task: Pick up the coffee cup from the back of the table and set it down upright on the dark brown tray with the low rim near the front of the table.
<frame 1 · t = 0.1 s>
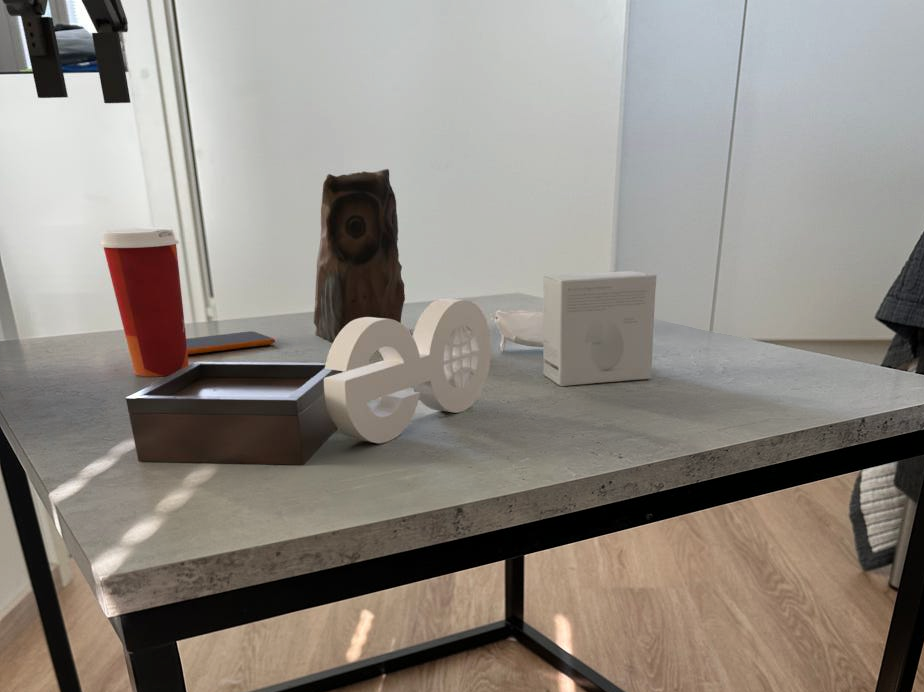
hand: (87, 101, 96), 27 cm above the table, tool pointing down, fingers open, 13 cm apart
smartphone: (204, 349, 118), on the table
cosmetics box: (595, 378, 100), on the table
dark brown tray: (249, 439, 81), on the table
pale pink animal figure: (539, 353, 113), on the table
coffee cup: (162, 372, 107), on the table
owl: (358, 338, 124), on the table
letter: (418, 425, 85), on the table
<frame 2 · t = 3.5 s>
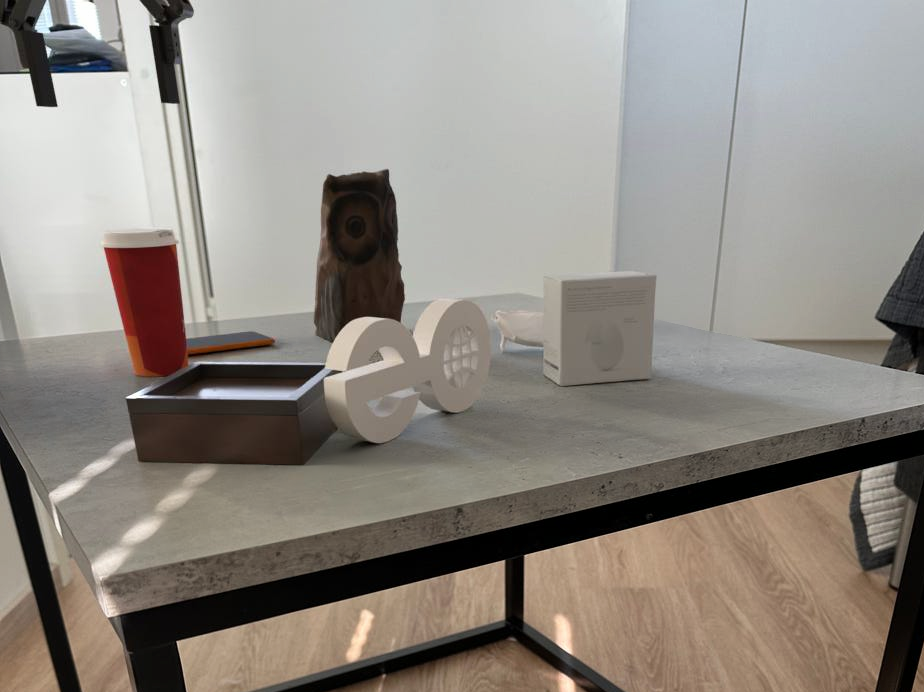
hand: (108, 105, 95), 27 cm above the table, tool pointing down, fingers open, 13 cm apart
nothing on the table moved.
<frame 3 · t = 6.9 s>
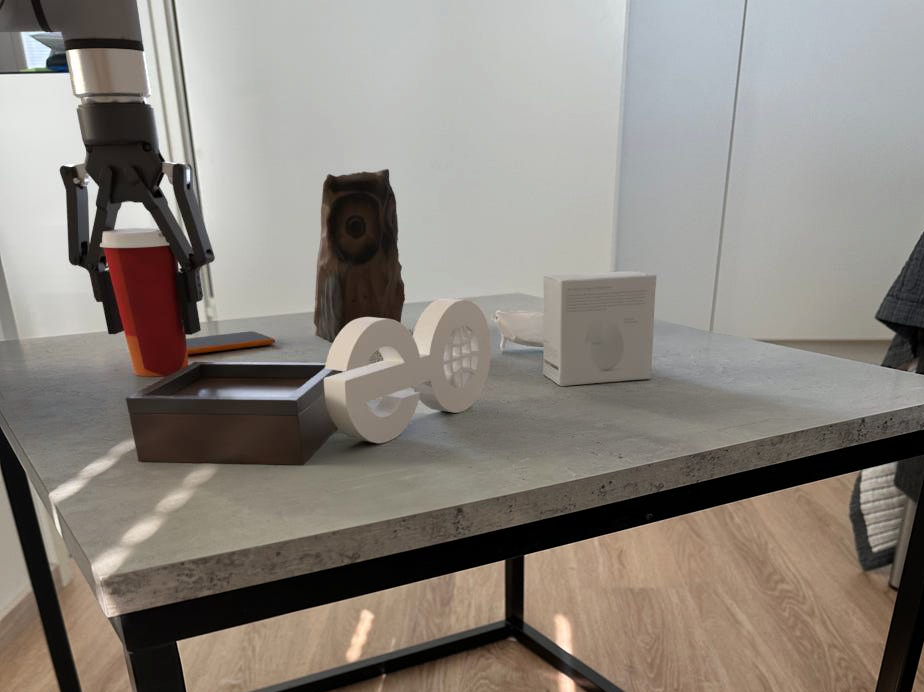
hand: (154, 332, 105), 4 cm above the table, tool pointing down, fingers closed on coffee cup, 8 cm apart
coffee cup: (162, 372, 107), on the table, touching gripper
everything else where it was.
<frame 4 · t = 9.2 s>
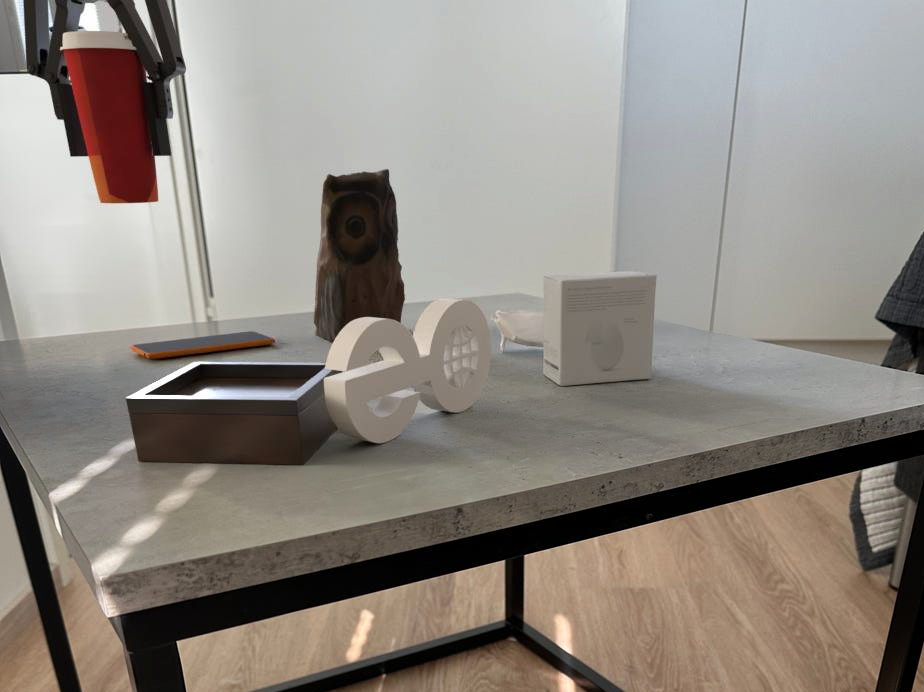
hand: (121, 155, 96), 22 cm above the table, tool pointing down, fingers closed on coffee cup, 8 cm apart
coffee cup: (129, 203, 98), point 18 cm above the table, touching gripper
everything else where it was.
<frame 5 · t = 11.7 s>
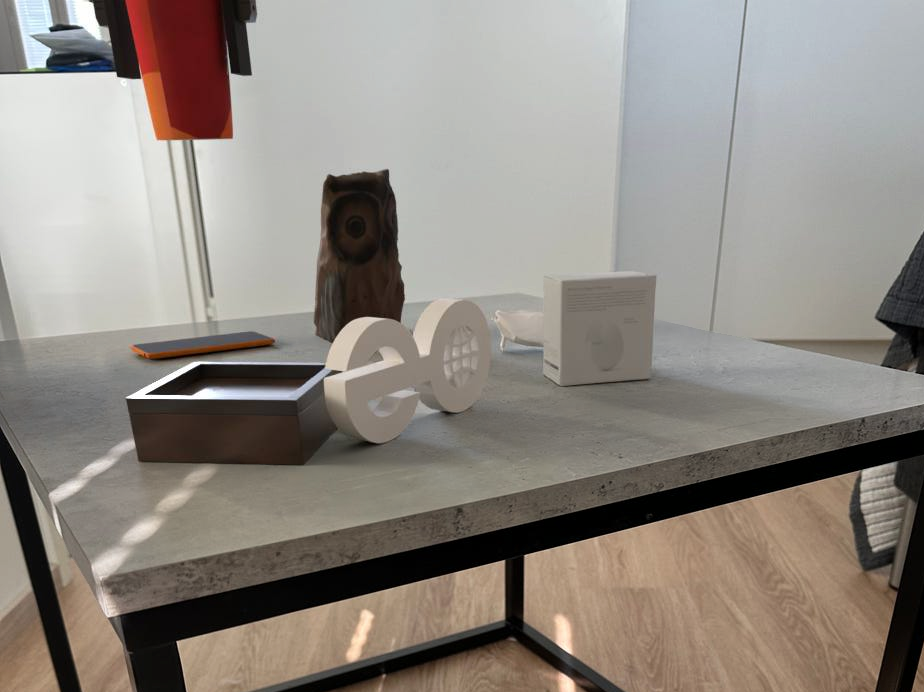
hand: (185, 76, 71), 28 cm above the table, tool pointing down, fingers closed on coffee cup, 8 cm apart
coffee cup: (194, 142, 74), point 23 cm above the table, touching gripper
everything else where it was.
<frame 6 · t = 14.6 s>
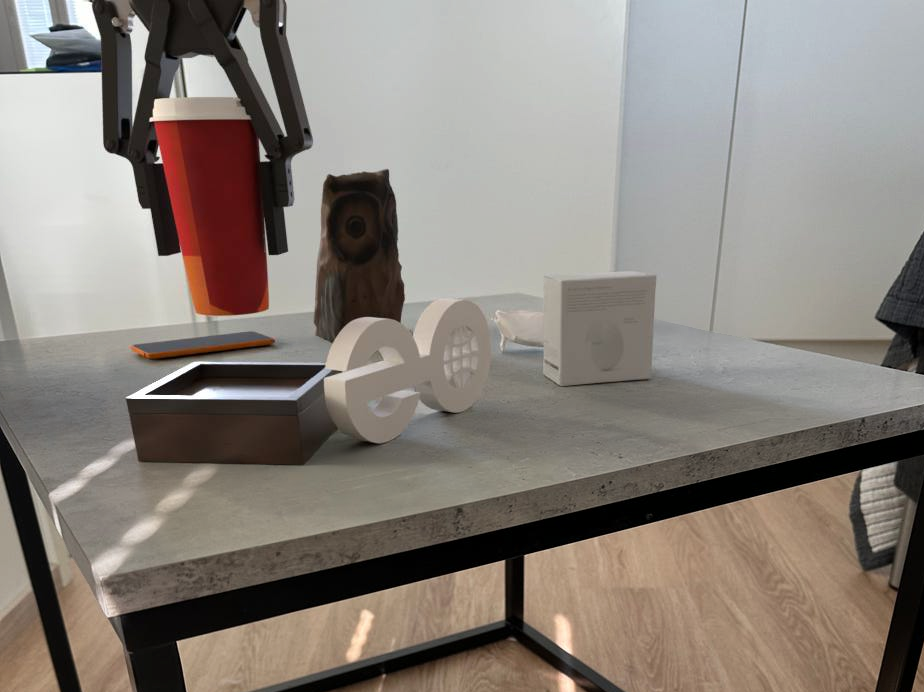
hand: (223, 253, 74), 15 cm above the table, tool pointing down, fingers closed on coffee cup, 8 cm apart
coffee cup: (232, 312, 76), point 11 cm above the table, touching gripper
everything else where it was.
when the fingers open (8 cm above the table, at t = 16.7 s): coffee cup stays where it is, resting on dark brown tray.
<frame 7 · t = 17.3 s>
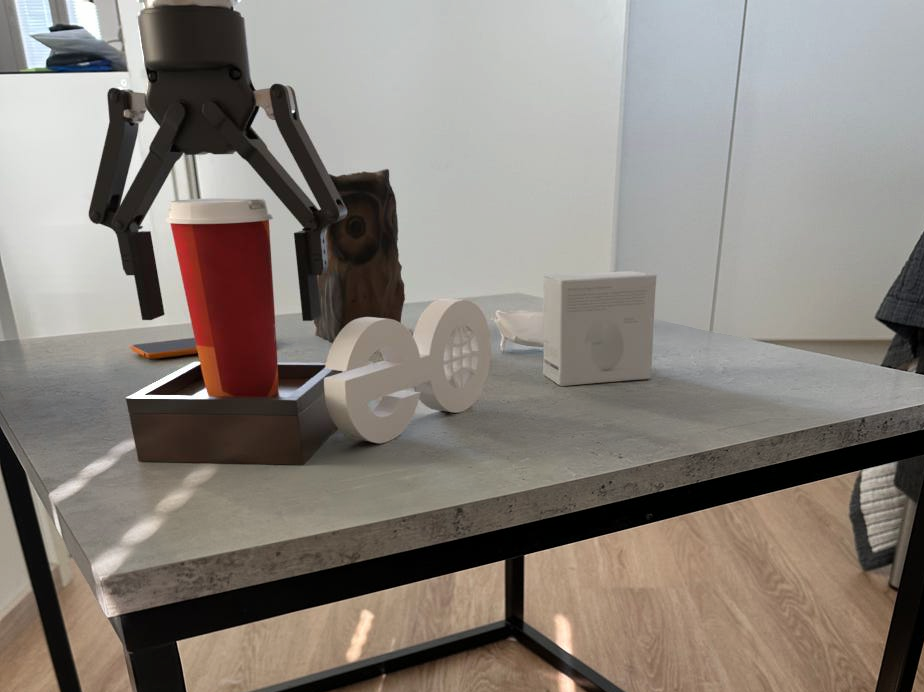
hand: (232, 318, 76), 10 cm above the table, tool pointing down, fingers open, 13 cm apart
coffee cup: (243, 395, 79), point 4 cm above the table, touching dark brown tray
everything else where it was.
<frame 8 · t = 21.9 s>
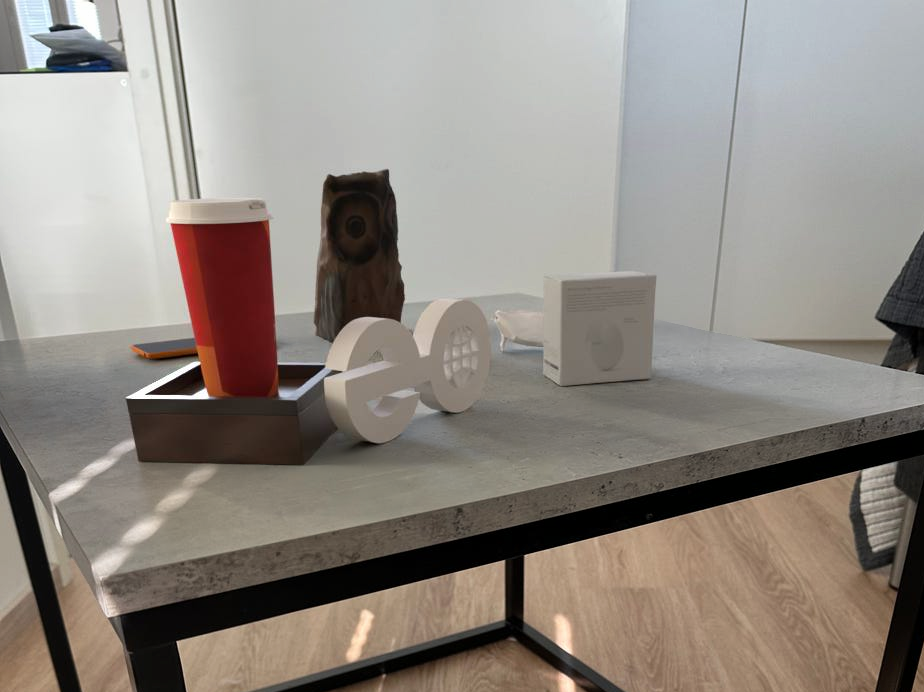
nothing on the table moved.
at the end: coffee cup 0.0 cm off-centre on the dark brown tray, point 3.8 cm above the dark brown tray's base; coffee cup tilted 0°; the gripper is holding nothing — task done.
